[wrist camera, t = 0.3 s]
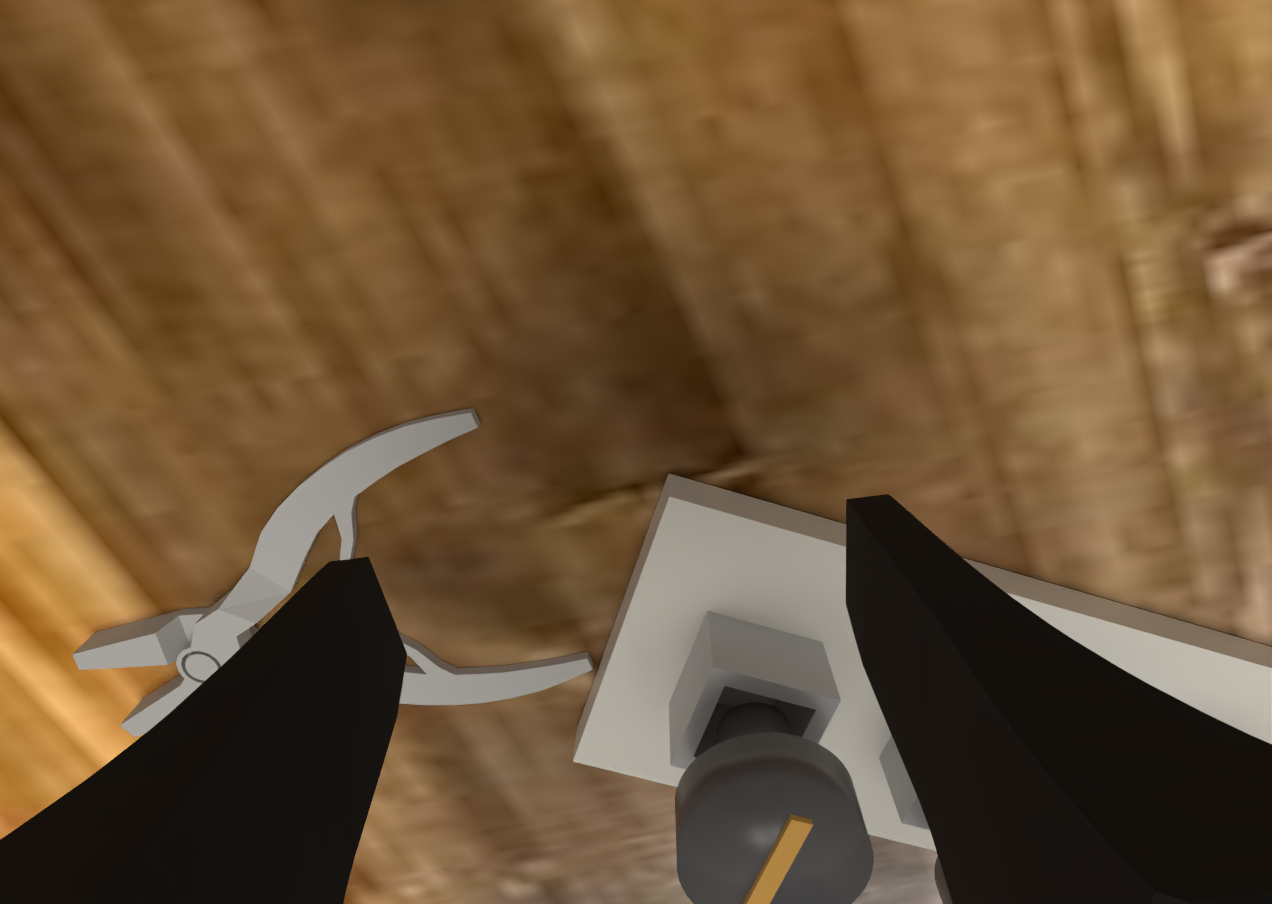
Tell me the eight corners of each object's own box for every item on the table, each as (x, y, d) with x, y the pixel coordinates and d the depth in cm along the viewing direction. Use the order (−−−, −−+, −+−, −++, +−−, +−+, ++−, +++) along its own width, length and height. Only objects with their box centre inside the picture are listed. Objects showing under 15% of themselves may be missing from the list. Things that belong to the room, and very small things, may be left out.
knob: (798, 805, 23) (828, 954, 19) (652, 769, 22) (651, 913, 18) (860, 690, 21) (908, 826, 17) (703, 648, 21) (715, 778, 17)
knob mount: (1155, 873, 29) (1227, 984, 25) (576, 728, 27) (564, 826, 23) (1327, 663, 25) (1442, 758, 21) (668, 473, 23) (671, 543, 19)
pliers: (593, 694, 25) (184, 806, 27) (596, 661, 26) (208, 771, 29) (460, 416, 21) (-1, 573, 23) (472, 396, 23) (37, 546, 25)
